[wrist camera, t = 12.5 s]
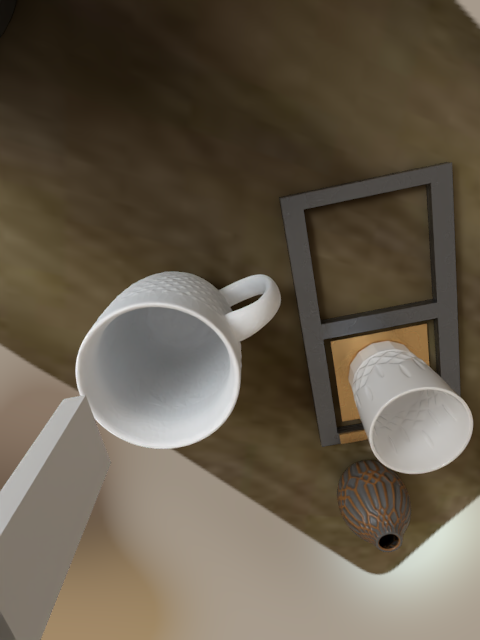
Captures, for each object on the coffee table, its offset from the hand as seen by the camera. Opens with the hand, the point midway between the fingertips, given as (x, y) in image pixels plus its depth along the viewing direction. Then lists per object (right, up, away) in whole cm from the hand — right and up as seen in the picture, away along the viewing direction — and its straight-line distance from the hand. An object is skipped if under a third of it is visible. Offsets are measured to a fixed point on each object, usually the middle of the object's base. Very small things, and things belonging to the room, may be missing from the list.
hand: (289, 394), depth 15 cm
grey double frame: (+11, +3, +28) cm, 30 cm away
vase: (+12, -14, +34) cm, 39 cm away
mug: (-6, +4, +27) cm, 28 cm away
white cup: (+12, -3, +30) cm, 32 cm away
